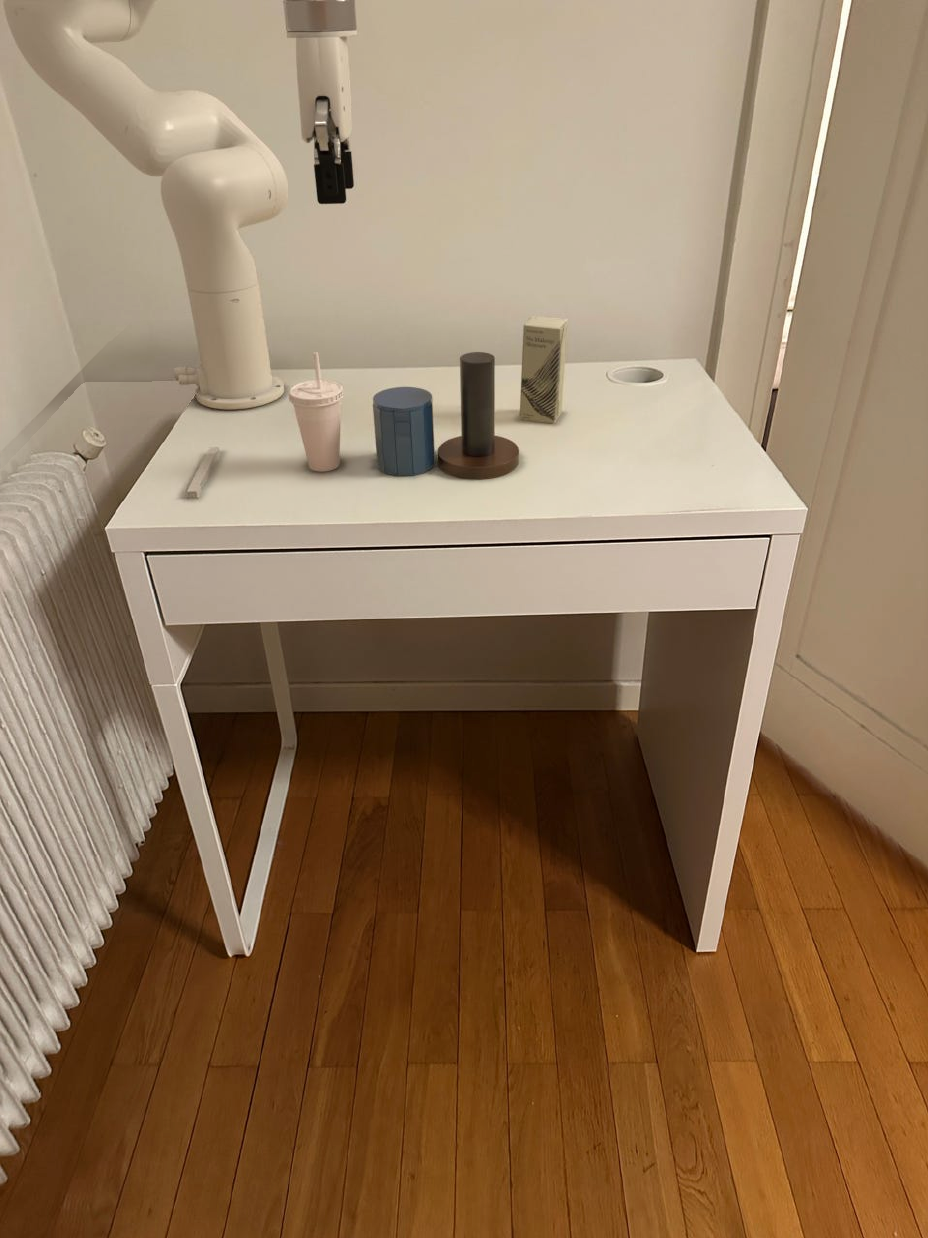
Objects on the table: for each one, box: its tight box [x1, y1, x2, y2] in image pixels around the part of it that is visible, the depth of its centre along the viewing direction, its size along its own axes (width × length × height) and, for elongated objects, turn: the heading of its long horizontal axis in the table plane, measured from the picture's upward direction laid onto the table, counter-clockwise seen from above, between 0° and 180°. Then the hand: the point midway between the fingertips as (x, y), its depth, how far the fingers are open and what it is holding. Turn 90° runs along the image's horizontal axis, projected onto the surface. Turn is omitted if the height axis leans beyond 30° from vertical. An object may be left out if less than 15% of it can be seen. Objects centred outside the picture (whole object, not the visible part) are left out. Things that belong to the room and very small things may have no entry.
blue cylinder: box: [372, 386, 436, 477], centre depth 109 cm, size 7×7×8 cm
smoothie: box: [288, 351, 345, 473], centre depth 107 cm, size 6×6×14 cm
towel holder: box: [437, 351, 520, 480], centre depth 107 cm, size 10×10×13 cm
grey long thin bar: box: [186, 446, 221, 500], centre depth 109 cm, size 12×1×1 cm, turn 1°
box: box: [519, 315, 569, 424], centre depth 119 cm, size 5×4×13 cm
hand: (336, 195), depth 106 cm, fingers open, 9 cm apart
